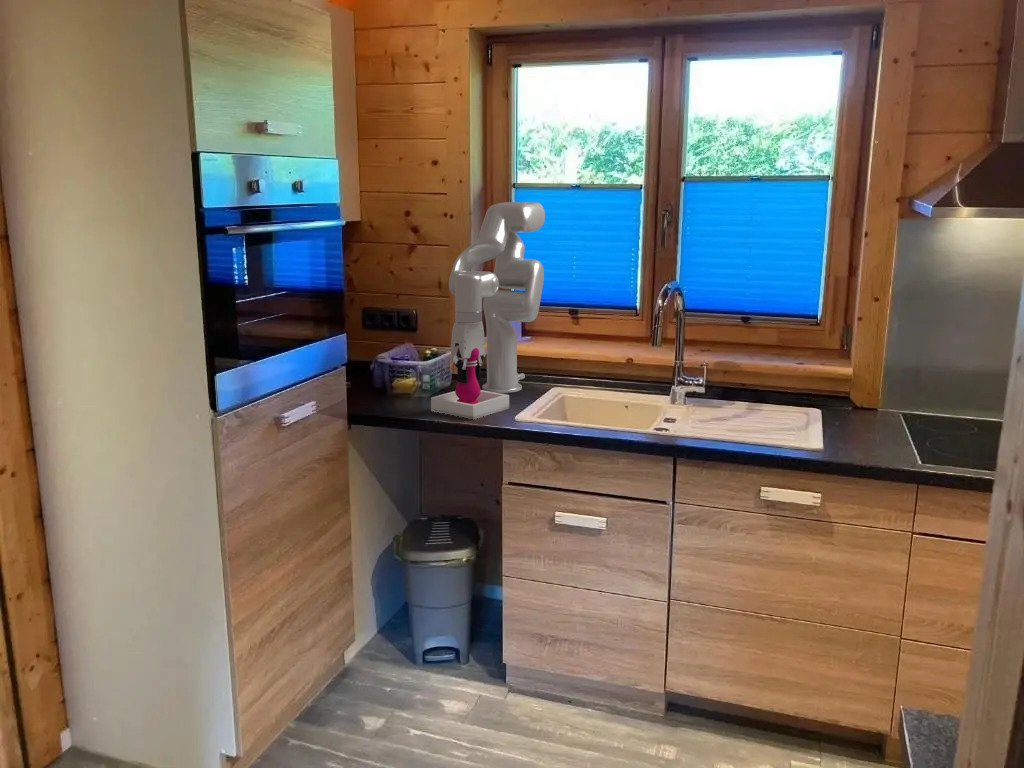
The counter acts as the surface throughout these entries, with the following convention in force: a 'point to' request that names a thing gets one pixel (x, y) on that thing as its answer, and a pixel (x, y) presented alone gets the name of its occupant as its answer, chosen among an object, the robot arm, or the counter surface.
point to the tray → (470, 405)
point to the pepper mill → (469, 381)
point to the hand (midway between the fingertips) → (469, 380)
